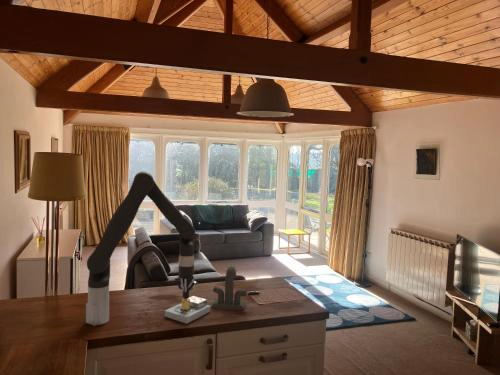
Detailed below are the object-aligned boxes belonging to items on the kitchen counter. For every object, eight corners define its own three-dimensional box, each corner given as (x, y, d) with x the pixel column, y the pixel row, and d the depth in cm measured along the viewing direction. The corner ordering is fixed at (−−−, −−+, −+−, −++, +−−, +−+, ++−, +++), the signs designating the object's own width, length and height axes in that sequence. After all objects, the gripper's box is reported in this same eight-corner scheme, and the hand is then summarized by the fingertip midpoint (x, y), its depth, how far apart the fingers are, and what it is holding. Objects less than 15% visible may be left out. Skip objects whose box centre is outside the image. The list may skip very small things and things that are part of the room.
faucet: (248, 299, 219) (249, 264, 217) (245, 310, 203) (246, 272, 202) (216, 297, 221) (217, 262, 219) (210, 307, 205) (211, 270, 203)
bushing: (185, 317, 192) (186, 301, 191) (179, 315, 194) (180, 299, 193) (191, 315, 195) (191, 299, 194) (185, 313, 197) (185, 297, 196)
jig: (186, 323, 185) (187, 317, 185) (164, 316, 192) (164, 310, 192) (210, 311, 200) (210, 305, 200) (188, 305, 207) (189, 299, 207)
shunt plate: (198, 308, 196) (198, 303, 195) (184, 304, 200) (184, 299, 200) (206, 304, 201) (206, 299, 201) (193, 300, 206) (193, 295, 206)
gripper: (201, 264, 192) (201, 299, 193) (181, 260, 199) (180, 293, 200) (192, 268, 186) (191, 303, 187) (171, 263, 193) (170, 297, 194)
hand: (185, 298), depth 194 cm, fingers closed
